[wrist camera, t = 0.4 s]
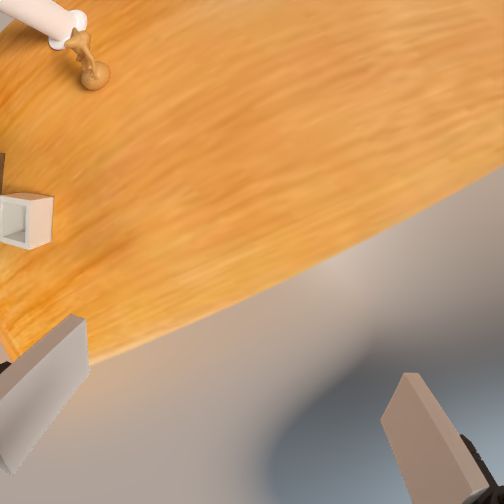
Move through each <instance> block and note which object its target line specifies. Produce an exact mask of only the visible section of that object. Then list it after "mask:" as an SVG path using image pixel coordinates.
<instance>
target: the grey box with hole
mask: <svg viewBox="0 0 504 504" xmlns="http://www.w3.org/2000/svg"><path fill="white" fill-rule="evenodd" d="M4 160H5V153H0V195H1V193H2V180H3V169H4Z"/></svg>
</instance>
